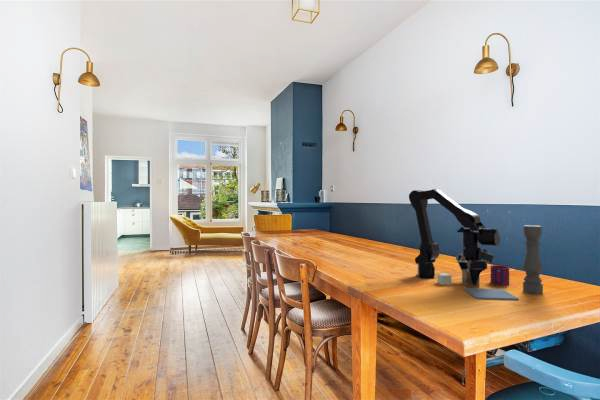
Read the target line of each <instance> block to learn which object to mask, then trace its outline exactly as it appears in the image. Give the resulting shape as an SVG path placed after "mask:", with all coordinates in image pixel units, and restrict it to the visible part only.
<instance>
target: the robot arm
mask: <svg viewBox="0 0 600 400" xmlns="http://www.w3.org/2000/svg"><path fill="white" fill-rule="evenodd" d="M432 199H433V200H435V201H436V202H437V203H439V204H440V206H442V207H443V208H445V210H447V211H449V212H450V213H452V215H453V216H454V217H455V219H456V220H457V222H459V224H461V225H460V226H461V227H460V228H459V229H458V230H457V233H462V245H460V249H462V253H456V255H455V261H456V263H457V264H458V266H459V269H460V270H461V271H462V269H468V272H469V275H470V277H471V280H472V283H473V285H476V284H477V281H478V278H479V279H480V275H481V273H482V272H484V271H486V270H487V269H488V263H491V264H493V263H492V262H493V260H494V257H495V255H494V254H491V253H489V252H488V250H487V249H485V248H481V246H489V247H499V246H500V243H501V236H500V233H499V232H498V231H499V230H498V228H486V226H485V225H484V224H483V222H482V221H481V217H480V216H479V214H477V213H476V212H474V211H472V210H469V209H467V208H464V207H462V206H461V205H460V204H459V203H457V202H456V201H454V200H453V199H452V198H450V197H449V196H447V195H446V194H445V193H444V192H443V191H442V190H440V189H437V188H435V189H433V188H432V189H429V190H423V189H422V190H421V189H420V190H419V189H418V190H412V191H411V192H410V193H409V194H408V200H409V202H410V205H411V207H412V208H413V210H414V211H415V215H416V220H417V221H416V222H417V225H418V232H419V236H420V245H419V254H418V255H417V256H416V257H415V258H414V261H415V264H417V273H416V276H417V277H418V278H419V279H421V278H422V279H423V278H424V279H435V278H436V277H435V275H436V274H435V271H436V268H435V266H434V263H436V259H438V258H439V256H440V252H441V250H440V248H439V243H438V242H436V243H435V242H434V240H433V238H432V231H431V226H430V222H429V216H428V211H427V207H428V204H429V203H428V200H432ZM479 244H480V245H481V246H479ZM486 261H487V262H488V263H487V262H486Z"/></svg>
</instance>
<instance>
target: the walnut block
mask: <svg viewBox="0 0 600 400" xmlns="http://www.w3.org/2000/svg"><path fill="white" fill-rule="evenodd" d="M461 280H462V282H461V283H462V285H464V286H465V287H469V288H471V287H473V288H475V287H476V288H478V287H480V277H479V278H478V281H477V284H476V285H473V283H472V280H471V277H470V275H469V272H468V269H462V270H461Z"/></svg>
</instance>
